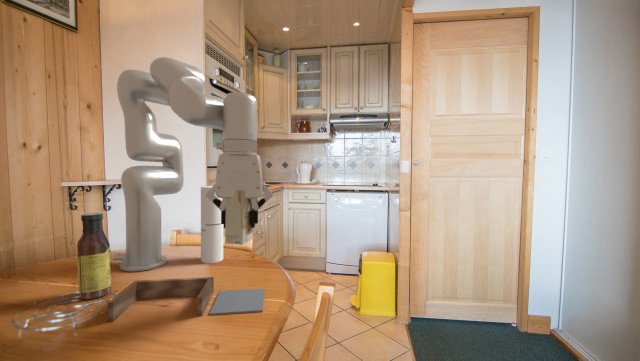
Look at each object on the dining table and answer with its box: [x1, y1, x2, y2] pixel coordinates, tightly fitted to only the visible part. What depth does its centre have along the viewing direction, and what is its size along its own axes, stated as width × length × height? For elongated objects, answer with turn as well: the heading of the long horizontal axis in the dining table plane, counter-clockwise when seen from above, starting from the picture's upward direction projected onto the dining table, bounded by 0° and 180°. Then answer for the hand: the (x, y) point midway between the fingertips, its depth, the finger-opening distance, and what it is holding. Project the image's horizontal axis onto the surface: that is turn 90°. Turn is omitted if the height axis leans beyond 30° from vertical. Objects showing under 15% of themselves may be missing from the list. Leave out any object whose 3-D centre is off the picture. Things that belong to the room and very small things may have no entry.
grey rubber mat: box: [209, 288, 265, 316], centre depth 65 cm, size 11×11×1 cm
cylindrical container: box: [200, 185, 224, 264], centre depth 94 cm, size 7×7×25 cm
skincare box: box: [224, 190, 254, 246], centre depth 64 cm, size 6×4×12 cm
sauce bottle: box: [76, 212, 113, 300], centre depth 67 cm, size 7×6×20 cm
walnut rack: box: [106, 276, 215, 323], centre depth 62 cm, size 18×11×4 cm, turn 99°
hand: (239, 226), depth 64 cm, fingers closed on skincare box, 5 cm apart
